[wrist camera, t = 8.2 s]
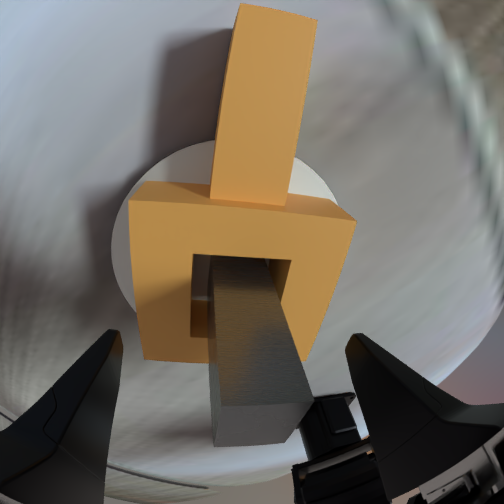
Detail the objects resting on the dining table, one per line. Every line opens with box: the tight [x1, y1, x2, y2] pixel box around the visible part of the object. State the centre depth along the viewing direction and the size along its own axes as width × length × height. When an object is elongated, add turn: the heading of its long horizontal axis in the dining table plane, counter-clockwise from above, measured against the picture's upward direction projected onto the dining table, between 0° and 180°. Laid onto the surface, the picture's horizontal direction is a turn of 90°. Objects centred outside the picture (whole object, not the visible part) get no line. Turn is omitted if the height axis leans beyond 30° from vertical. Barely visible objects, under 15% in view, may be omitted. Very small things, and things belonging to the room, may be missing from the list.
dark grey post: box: [207, 255, 314, 447], centre depth 11 cm, size 3×2×9 cm
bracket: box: [111, 3, 357, 363], centre depth 12 cm, size 19×13×4 cm
